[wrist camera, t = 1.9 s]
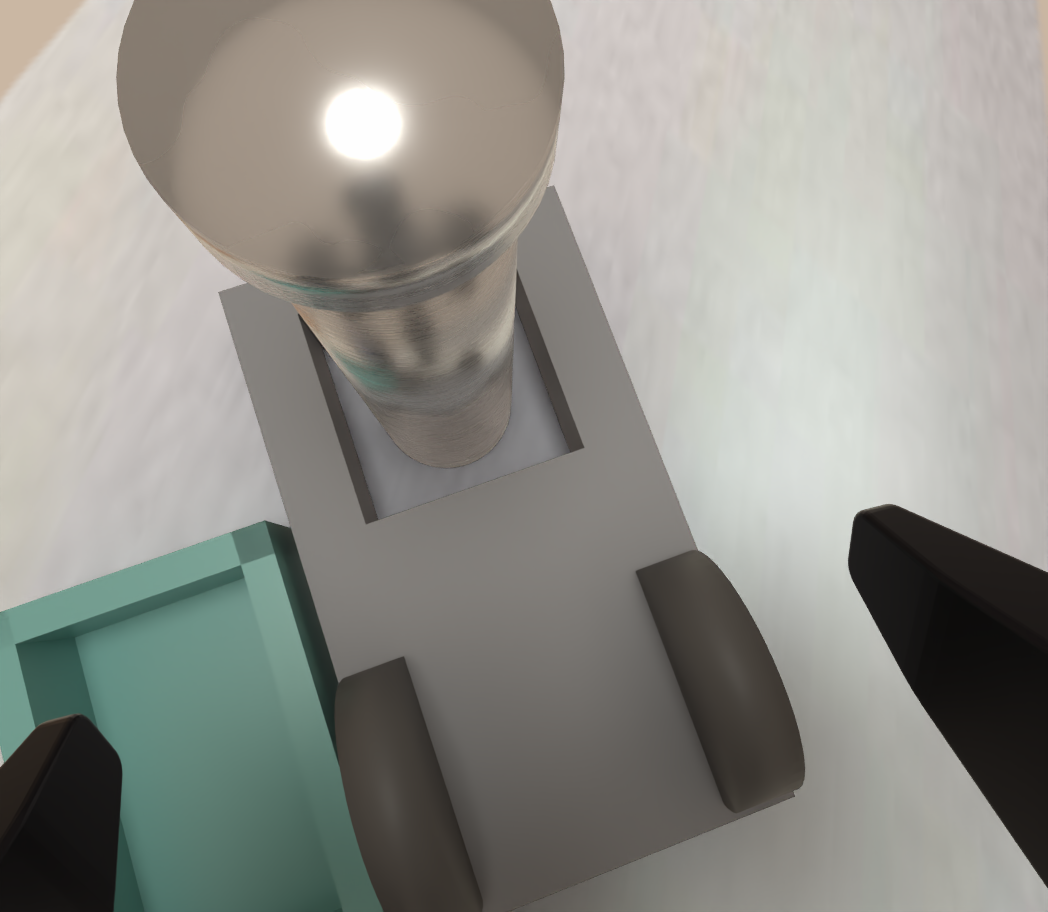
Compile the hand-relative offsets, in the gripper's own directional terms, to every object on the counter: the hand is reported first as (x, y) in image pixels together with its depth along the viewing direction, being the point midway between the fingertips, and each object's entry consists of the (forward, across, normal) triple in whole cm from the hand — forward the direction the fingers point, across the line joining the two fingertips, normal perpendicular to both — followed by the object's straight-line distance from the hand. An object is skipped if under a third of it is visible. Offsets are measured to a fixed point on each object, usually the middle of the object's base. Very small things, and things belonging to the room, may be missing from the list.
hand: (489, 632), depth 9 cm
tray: (+7, +8, +10) cm, 14 cm away
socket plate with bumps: (+10, 0, +7) cm, 12 cm away
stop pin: (+12, 0, +4) cm, 13 cm away
